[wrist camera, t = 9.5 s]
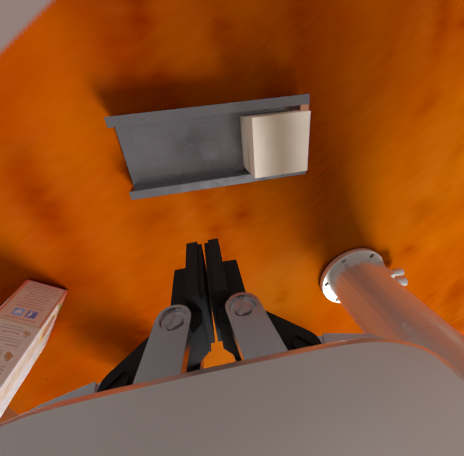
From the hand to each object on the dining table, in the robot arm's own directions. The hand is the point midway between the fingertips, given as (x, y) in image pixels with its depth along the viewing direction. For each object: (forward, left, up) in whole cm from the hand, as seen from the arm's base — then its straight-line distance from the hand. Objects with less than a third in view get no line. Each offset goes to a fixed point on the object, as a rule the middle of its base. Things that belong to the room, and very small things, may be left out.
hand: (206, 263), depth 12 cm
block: (-9, -3, -21) cm, 23 cm away
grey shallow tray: (-3, -3, -21) cm, 21 cm away
